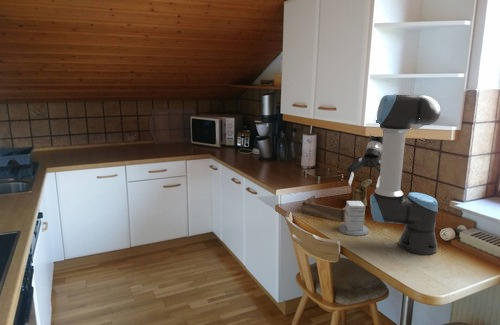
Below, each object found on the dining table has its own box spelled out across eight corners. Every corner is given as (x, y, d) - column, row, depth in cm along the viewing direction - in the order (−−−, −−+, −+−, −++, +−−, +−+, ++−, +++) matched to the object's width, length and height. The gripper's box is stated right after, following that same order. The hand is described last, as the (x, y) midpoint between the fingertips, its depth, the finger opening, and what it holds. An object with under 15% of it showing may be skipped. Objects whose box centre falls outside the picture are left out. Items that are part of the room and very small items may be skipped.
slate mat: (370, 227, 183) (370, 225, 183) (367, 238, 171) (367, 236, 170) (341, 222, 188) (341, 221, 188) (336, 233, 176) (336, 231, 176)
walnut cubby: (312, 205, 214) (312, 195, 212) (351, 213, 202) (352, 203, 200) (301, 212, 202) (302, 202, 201) (343, 221, 190) (344, 210, 189)
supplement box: (344, 225, 183) (346, 200, 180) (359, 225, 183) (361, 200, 180) (347, 231, 176) (349, 205, 173) (363, 231, 176) (365, 205, 173)
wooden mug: (359, 210, 207) (361, 178, 203) (348, 202, 220) (349, 172, 216) (373, 209, 209) (376, 178, 205) (361, 201, 222) (364, 172, 218)
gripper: (399, 158, 190) (390, 194, 181) (350, 153, 203) (339, 186, 194) (398, 150, 185) (388, 186, 175) (348, 145, 198) (337, 178, 188)
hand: (362, 186), depth 185 cm, fingers open, 13 cm apart
